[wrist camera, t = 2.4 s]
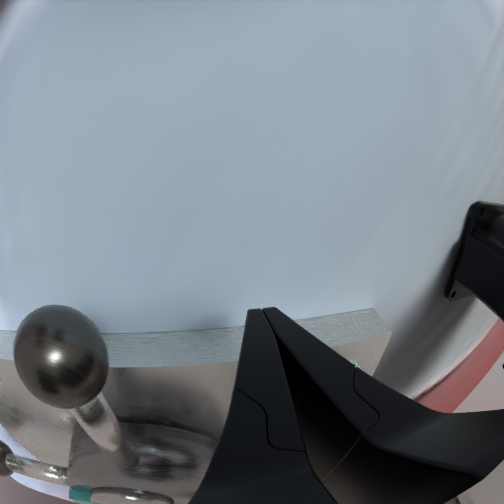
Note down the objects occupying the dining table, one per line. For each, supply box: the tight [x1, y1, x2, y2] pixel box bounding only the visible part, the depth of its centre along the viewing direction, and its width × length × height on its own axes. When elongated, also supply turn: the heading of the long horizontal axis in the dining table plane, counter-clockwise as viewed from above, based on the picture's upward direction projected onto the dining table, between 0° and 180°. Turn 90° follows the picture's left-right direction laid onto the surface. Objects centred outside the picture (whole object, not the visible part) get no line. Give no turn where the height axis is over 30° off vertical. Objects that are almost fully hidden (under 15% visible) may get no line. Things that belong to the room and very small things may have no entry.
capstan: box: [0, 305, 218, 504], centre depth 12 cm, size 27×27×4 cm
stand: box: [0, 308, 393, 467], centre depth 15 cm, size 24×18×2 cm
